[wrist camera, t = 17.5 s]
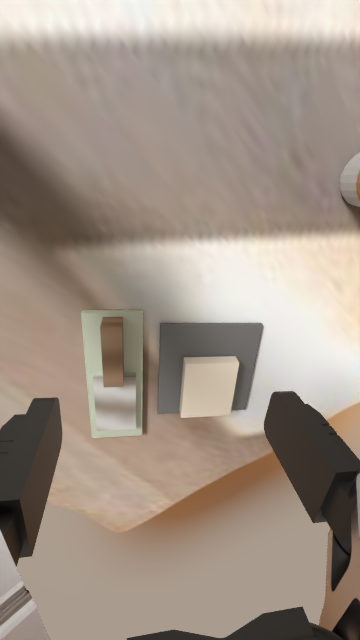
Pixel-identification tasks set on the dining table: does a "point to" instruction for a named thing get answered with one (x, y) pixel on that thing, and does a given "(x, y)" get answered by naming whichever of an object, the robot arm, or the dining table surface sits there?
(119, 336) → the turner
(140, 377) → the board
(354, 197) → the coffee cup
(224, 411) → the tile
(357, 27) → the dining table surface
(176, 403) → the mat
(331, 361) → the dining table surface
